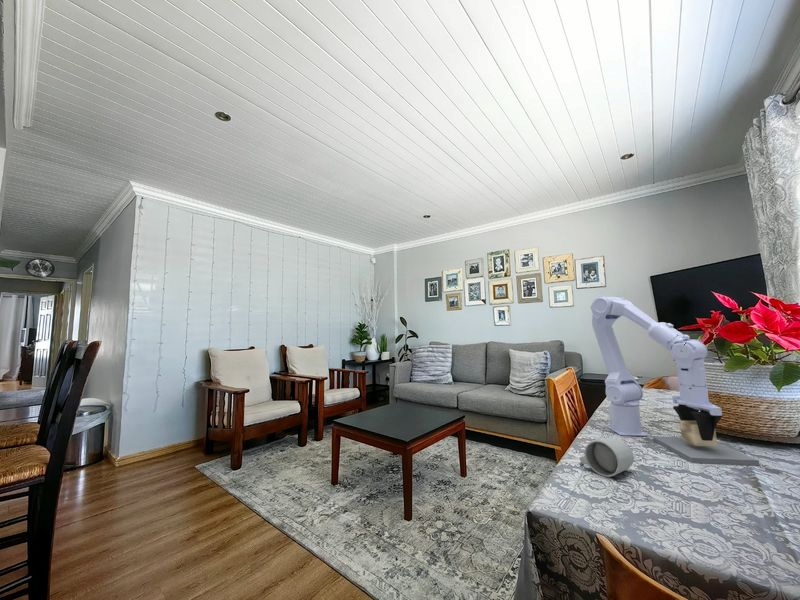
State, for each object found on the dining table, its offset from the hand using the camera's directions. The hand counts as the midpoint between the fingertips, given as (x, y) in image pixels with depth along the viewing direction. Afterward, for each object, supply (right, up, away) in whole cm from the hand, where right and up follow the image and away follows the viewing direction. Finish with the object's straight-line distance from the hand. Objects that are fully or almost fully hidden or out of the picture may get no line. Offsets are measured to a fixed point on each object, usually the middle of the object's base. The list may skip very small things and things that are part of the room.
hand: (698, 436), depth 85 cm
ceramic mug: (-31, -4, -9) cm, 33 cm away
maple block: (0, -2, 0) cm, 2 cm away
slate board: (0, -4, 0) cm, 4 cm away
